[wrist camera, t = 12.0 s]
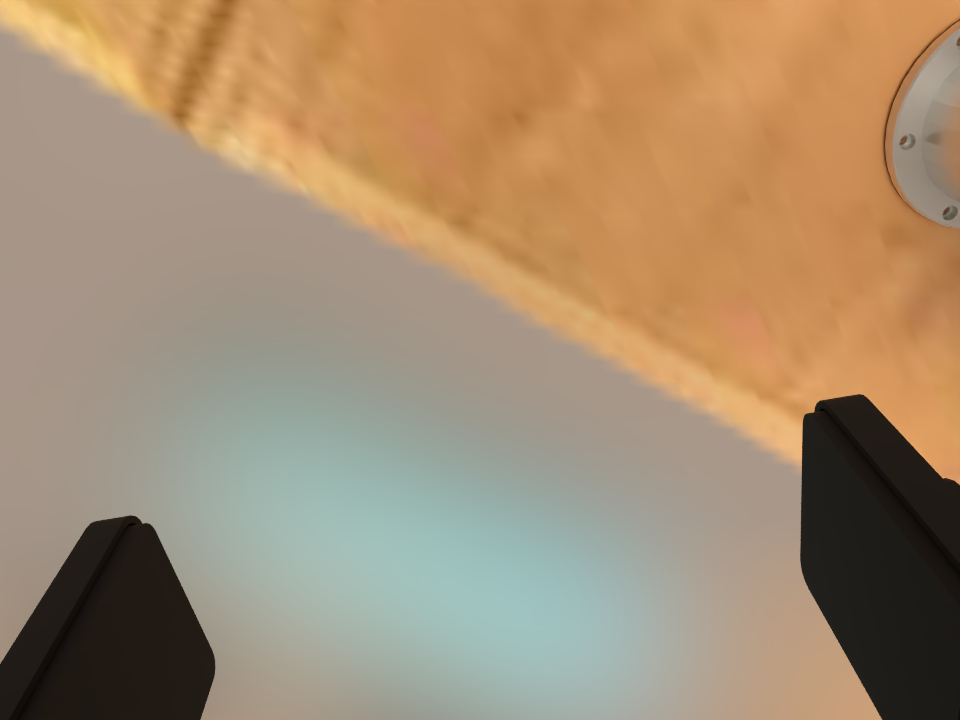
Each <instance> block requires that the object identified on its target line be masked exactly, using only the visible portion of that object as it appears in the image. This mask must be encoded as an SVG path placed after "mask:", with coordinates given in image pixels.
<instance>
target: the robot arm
mask: <svg viewBox="0 0 960 720" xmlns="http://www.w3.org/2000/svg"><path fill="white" fill-rule="evenodd" d="M958 38H959V41H958V43H957V40H958ZM902 138H903V139H902ZM901 139H902V141H901V142H900V140H901ZM885 152H886V161H887V168H888V171H889V174H890V177H891V180H892V183H893V185H894V187H895V188H896V190H897V191H898V193H899V195H900V196H901V198H902V199H903V200H904V201H905V202H906V203H907V204H908V205H909V206H910V207H911V208H912V209H913V210H914V211H916V212H918V213H919V214H921V215H923V216H924V217H926V218H928V219H929V220H931V221H934V222H936V223H938V224H940V225H943V226H946V227H951V228H957V229H960V21H958V22H957V23H955V24H954V25H952V26H951V27H950V28H949V29H948V30H946V31H945V32H944V33H943V34H942V35H941V36H939V37H938V38H937V39H936V40H935V41H934V42H933V43H932V44H931V45H930V46H929V47H928V48H927V49H926V51H925V52H924V53H923V54H922V55H921V56H920V57H919V59H918V60H917V61H916V62H915V64H914V66H913V67H912V69H911V70H910V72H909V73H908V75H907V76H906V78H905V79H904V81H903V83H902V85H901V87H900V89H899V91H898V94H897V96H896V98H895V100H894V102H893V105H892V109H891V113H890V116H889V120H888V123H887V130H886V141H885ZM801 499H802V500H801V501H802V502H801V554H800V558H801V559H800V560H801V568H802V573H803V576H804V579H805V582H806V584H807V586H808V588H809V590H810V592H811V594H812V595H813V597H814V599H815V601H816V602H817V604H818V606H819V608H820V610H821V611H822V613H823V615H824V617H825V619H826V620H827V622H828V624H829V625H830V627H831V629H832V631H833V633H834V635H835V636H836V638H837V640H838V642H839V643H840V645H841V647H842V649H843V650H844V652H845V654H846V656H847V657H848V659H849V661H850V663H851V665H852V666H853V668H854V670H855V672H856V674H857V675H858V677H859V679H860V680H861V683H862V684H863V686H864V688H865V689H866V691H867V693H868V695H869V697H870V698H871V700H872V702H873V704H874V706H875V707H876V709H877V711H878V713H879V715H880V716H881V718H882V720H960V485H959V484H958V483H956V482H955V481H953V480H950V479H947V478H944V479H943V478H942V477H941V476H940V475H939V474H938V473H937V472H936V471H935V470H934V469H933V468H932V467H931V466H930V465H929V463H928V462H927V461H926V460H925V459H924V458H923V457H922V456H921V455H920V454H919V453H918V452H917V451H916V450H915V448H914V447H913V446H912V445H911V444H910V443H909V442H908V441H907V440H906V439H905V438H904V437H903V436H902V435H901V433H900V432H899V431H898V430H897V429H896V428H895V427H894V426H893V425H892V424H891V423H890V422H889V421H888V420H887V418H886V417H885V416H884V415H883V414H882V413H881V412H880V411H879V410H878V409H877V408H876V407H875V406H874V405H873V403H872V402H871V401H870V400H869V399H868V398H867V397H865V396H864V395H860V394H858V395H852V396H846V397H840V398H834V399H828V400H822V401H819V402H818V403H817V404H816V407H815V412H814V413H808V414H806V415H805V416H804V419H803V442H802V497H801ZM214 675H215V659H214V654H213V651H212V649H211V647H210V645H209V642H208V640H207V638H206V636H205V634H204V632H203V630H202V628H201V626H200V624H199V621H198V619H197V617H196V615H195V613H194V611H193V609H192V607H191V605H190V603H189V600H188V598H187V596H186V594H185V592H184V590H183V588H182V586H181V584H180V581H179V580H178V577H177V576H176V573H175V571H174V569H173V567H172V565H171V563H170V560H169V559H168V557H167V554H166V552H165V550H164V548H163V546H162V544H161V542H160V539H159V537H158V535H157V533H156V531H155V530H154V528H153V527H152V526H151V525H150V524H148V523H145V524H142V522H141V521H140V519H138V518H137V517H136V516H125V517H119V518H113V519H107V520H101V521H96V522H93V523H91V524H90V525H89V526H88V527H87V528H86V530H85V531H84V533H83V534H82V536H81V537H80V539H79V540H78V542H77V544H76V545H75V547H74V548H73V550H72V552H71V553H70V555H69V556H68V558H67V559H66V561H65V563H64V564H63V566H62V567H61V569H60V571H59V572H58V574H57V576H56V577H55V578H54V580H53V582H52V583H51V585H50V586H49V588H48V589H47V591H46V593H45V594H44V596H43V597H42V599H41V601H40V602H39V604H38V605H37V607H36V608H35V610H34V612H33V613H32V615H31V616H30V618H29V620H28V621H27V623H26V624H25V626H24V627H23V629H22V631H21V632H20V634H19V635H18V637H17V638H16V640H15V642H14V643H13V645H12V646H11V648H10V650H9V651H8V653H7V654H6V656H5V658H4V659H3V661H2V662H1V664H0V720H200V719H201V716H202V713H203V710H204V707H205V704H206V701H207V698H208V695H209V691H210V688H211V685H212V682H213V679H214Z"/></svg>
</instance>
